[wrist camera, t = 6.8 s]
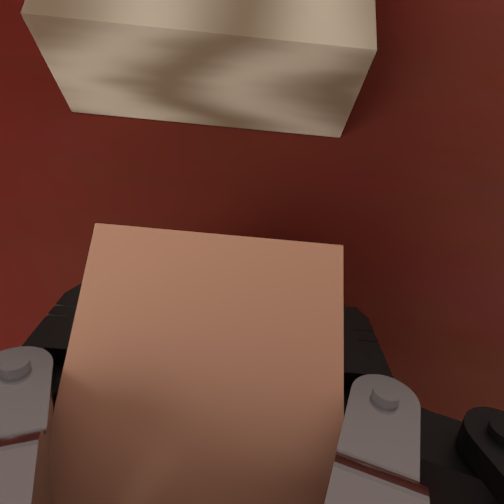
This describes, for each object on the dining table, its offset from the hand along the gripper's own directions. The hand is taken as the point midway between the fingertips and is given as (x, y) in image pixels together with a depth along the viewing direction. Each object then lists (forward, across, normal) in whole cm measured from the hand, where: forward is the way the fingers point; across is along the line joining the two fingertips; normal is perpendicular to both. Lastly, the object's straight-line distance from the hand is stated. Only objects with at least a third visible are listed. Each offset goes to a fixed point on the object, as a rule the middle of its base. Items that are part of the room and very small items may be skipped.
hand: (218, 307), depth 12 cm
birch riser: (+15, +2, -9) cm, 18 cm away
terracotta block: (+2, 0, +4) cm, 5 cm away
